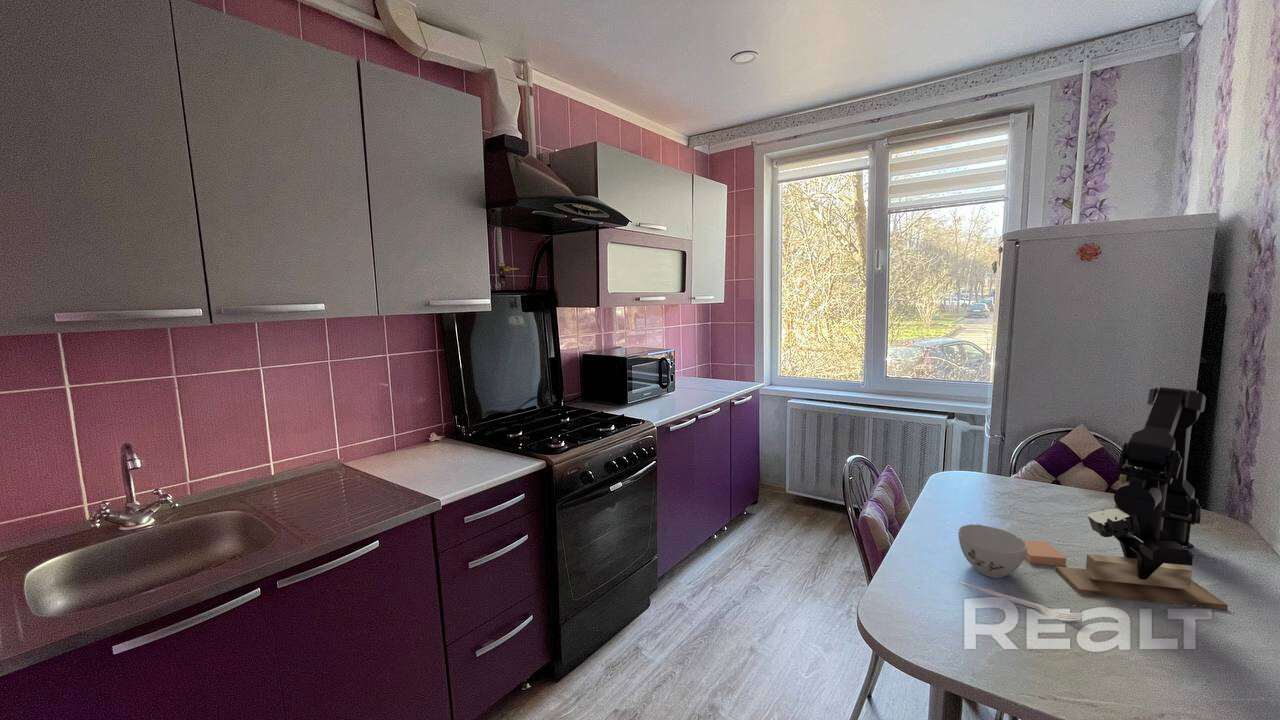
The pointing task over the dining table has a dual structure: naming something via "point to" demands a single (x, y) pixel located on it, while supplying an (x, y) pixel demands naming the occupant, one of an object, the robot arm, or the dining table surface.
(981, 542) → the floral ceramic bowl
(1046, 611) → the fork
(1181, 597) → the rest board
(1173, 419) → the robot arm
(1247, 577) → the dining table surface
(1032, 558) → the glazed tile
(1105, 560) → the oak scraper
